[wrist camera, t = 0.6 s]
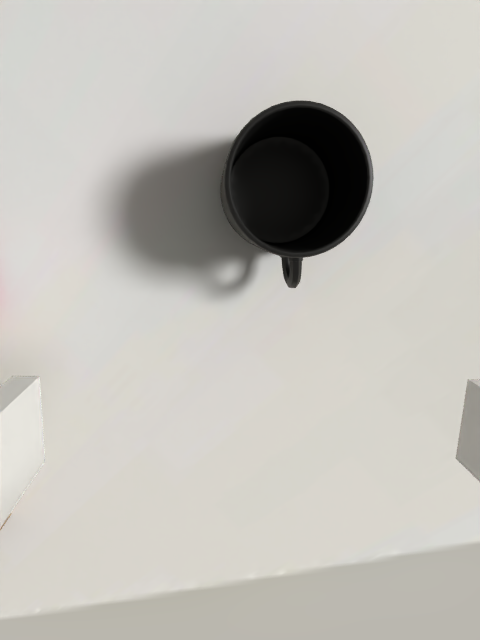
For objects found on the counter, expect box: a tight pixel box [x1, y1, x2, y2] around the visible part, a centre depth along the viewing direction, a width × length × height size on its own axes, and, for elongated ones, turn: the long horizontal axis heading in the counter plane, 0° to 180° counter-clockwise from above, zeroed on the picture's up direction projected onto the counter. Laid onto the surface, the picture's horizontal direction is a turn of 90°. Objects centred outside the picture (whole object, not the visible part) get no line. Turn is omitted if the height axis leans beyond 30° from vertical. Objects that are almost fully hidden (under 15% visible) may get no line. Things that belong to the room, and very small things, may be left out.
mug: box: [221, 101, 373, 288], centre depth 32 cm, size 9×12×9 cm
